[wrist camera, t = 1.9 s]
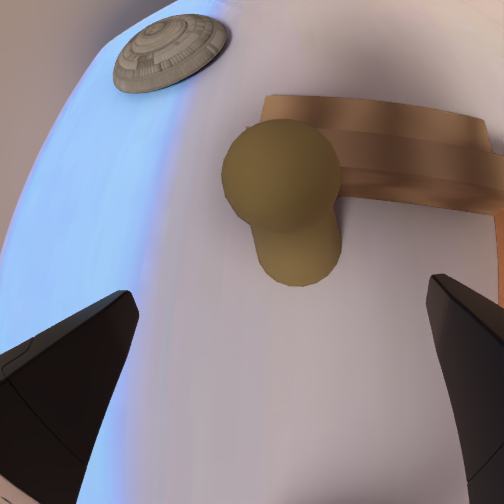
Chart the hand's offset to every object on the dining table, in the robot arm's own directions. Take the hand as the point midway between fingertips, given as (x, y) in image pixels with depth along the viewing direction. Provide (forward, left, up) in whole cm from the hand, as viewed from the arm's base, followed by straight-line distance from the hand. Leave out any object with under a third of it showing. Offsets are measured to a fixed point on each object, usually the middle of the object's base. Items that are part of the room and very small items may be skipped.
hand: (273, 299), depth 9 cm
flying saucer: (+7, +33, -13) cm, 36 cm away
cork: (+3, +5, -13) cm, 14 cm away
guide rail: (+12, +3, -12) cm, 17 cm away
